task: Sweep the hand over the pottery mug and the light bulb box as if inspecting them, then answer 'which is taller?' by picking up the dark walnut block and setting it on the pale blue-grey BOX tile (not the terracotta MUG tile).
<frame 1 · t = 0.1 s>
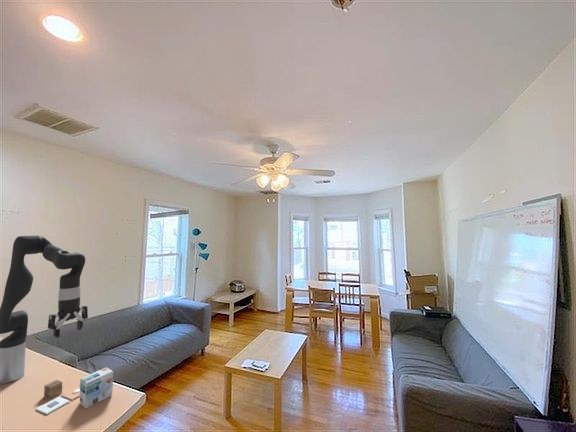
hand: (68, 333, 114), 29 cm above the table, fingers open, 8 cm apart
box tile: (53, 405, 109), on the table
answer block: (53, 394, 116), on the table
light bulb box: (96, 399, 113), on the table
mug tile: (76, 392, 117), on the table
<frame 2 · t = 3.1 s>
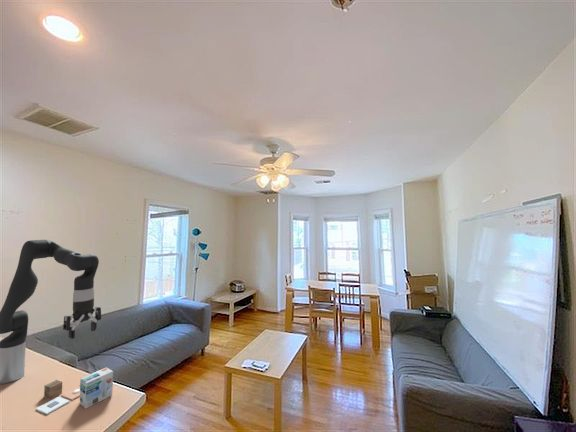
hand: (82, 334, 115), 28 cm above the table, fingers open, 8 cm apart
nothing on the table moved.
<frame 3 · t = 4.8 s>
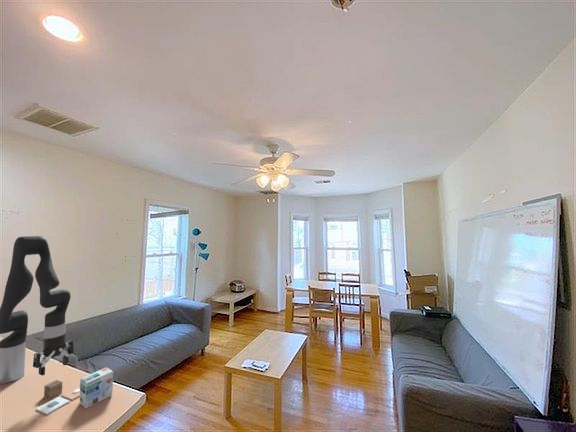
hand: (54, 369, 117), 11 cm above the table, fingers open, 8 cm apart
nothing on the table moved.
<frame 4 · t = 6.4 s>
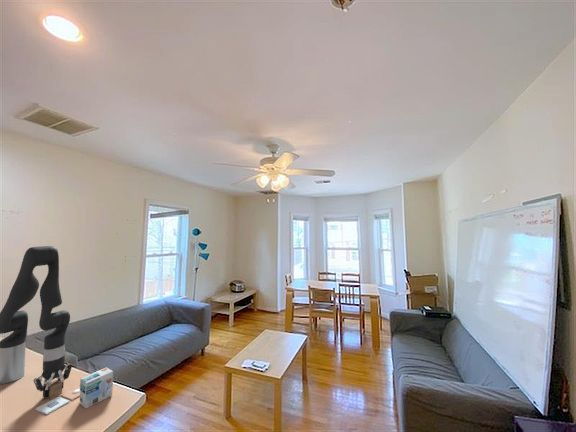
hand: (53, 393, 116), 0 cm above the table, fingers closed on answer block, 4 cm apart
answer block: (53, 394, 116), on the table, touching gripper
everything else where it was.
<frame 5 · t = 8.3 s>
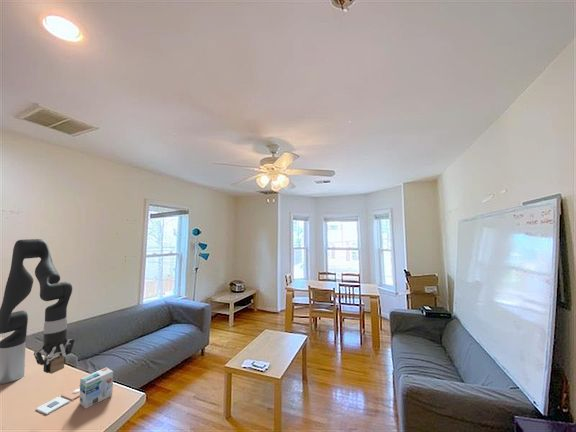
hand: (54, 369, 110), 16 cm above the table, fingers closed on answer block, 4 cm apart
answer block: (54, 369, 110), point 15 cm above the table, touching gripper
everything else where it was.
when the fingers open (2 cm above the table, at t = 10.7 s): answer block drops 1 cm, resting on box tile.
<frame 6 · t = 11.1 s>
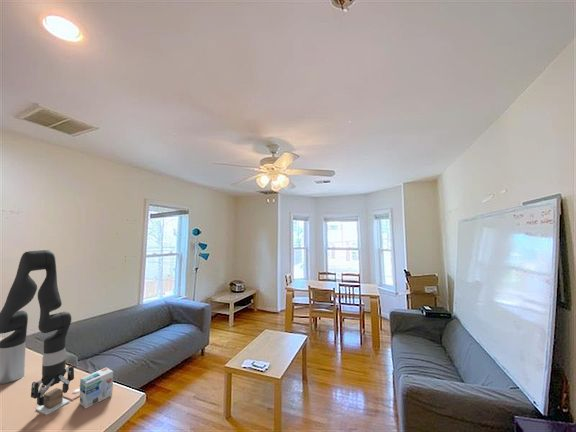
hand: (53, 398, 109), 3 cm above the table, fingers open, 8 cm apart
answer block: (53, 404, 109), point 1 cm above the table, touching box tile
everything else where it was.
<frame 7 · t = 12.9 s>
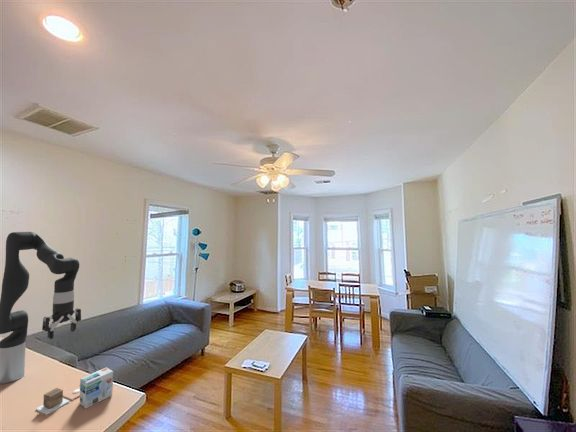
hand: (62, 334, 120), 26 cm above the table, fingers open, 8 cm apart
nothing on the table moved.
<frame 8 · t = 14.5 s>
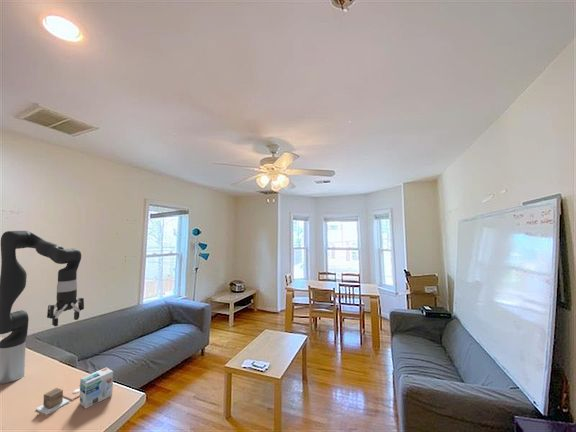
hand: (66, 322, 124), 30 cm above the table, fingers open, 8 cm apart
nothing on the table moved.
at the end: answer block inside the target area on the box tile (0.0 cm from its centre), point 0.8 cm above the box tile's base; the gripper is holding nothing; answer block tilted 0° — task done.
